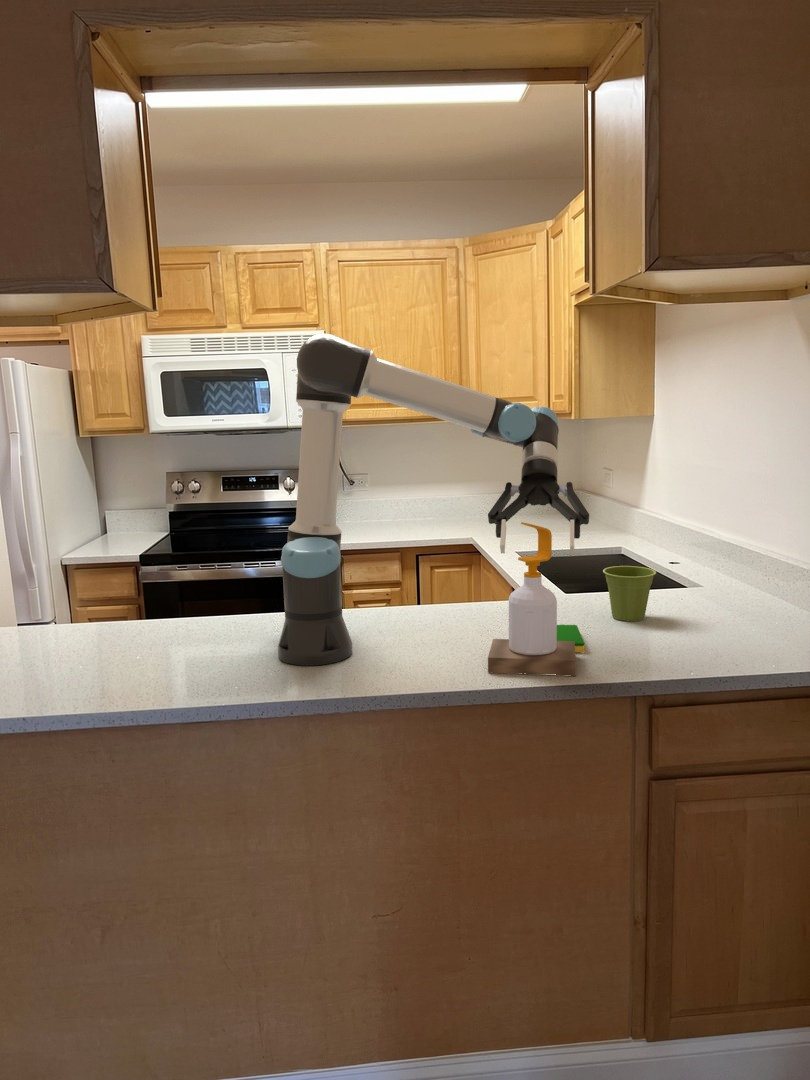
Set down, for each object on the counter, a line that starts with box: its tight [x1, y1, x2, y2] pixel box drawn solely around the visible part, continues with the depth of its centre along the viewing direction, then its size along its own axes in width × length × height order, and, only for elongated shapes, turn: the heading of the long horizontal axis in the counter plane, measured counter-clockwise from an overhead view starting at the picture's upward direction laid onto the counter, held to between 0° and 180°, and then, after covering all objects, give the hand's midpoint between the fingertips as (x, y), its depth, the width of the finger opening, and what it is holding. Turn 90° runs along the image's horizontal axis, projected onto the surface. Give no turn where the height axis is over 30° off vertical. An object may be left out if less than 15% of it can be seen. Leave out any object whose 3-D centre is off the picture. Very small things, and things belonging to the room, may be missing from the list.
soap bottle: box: [508, 521, 558, 656], centre depth 141 cm, size 9×9×25 cm
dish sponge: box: [557, 624, 586, 653], centre depth 157 cm, size 7×14×2 cm, turn 174°
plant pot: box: [602, 565, 657, 622], centre depth 173 cm, size 12×12×11 cm
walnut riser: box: [487, 638, 577, 677], centre depth 143 cm, size 16×12×3 cm
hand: (536, 550), depth 147 cm, fingers open, 13 cm apart
